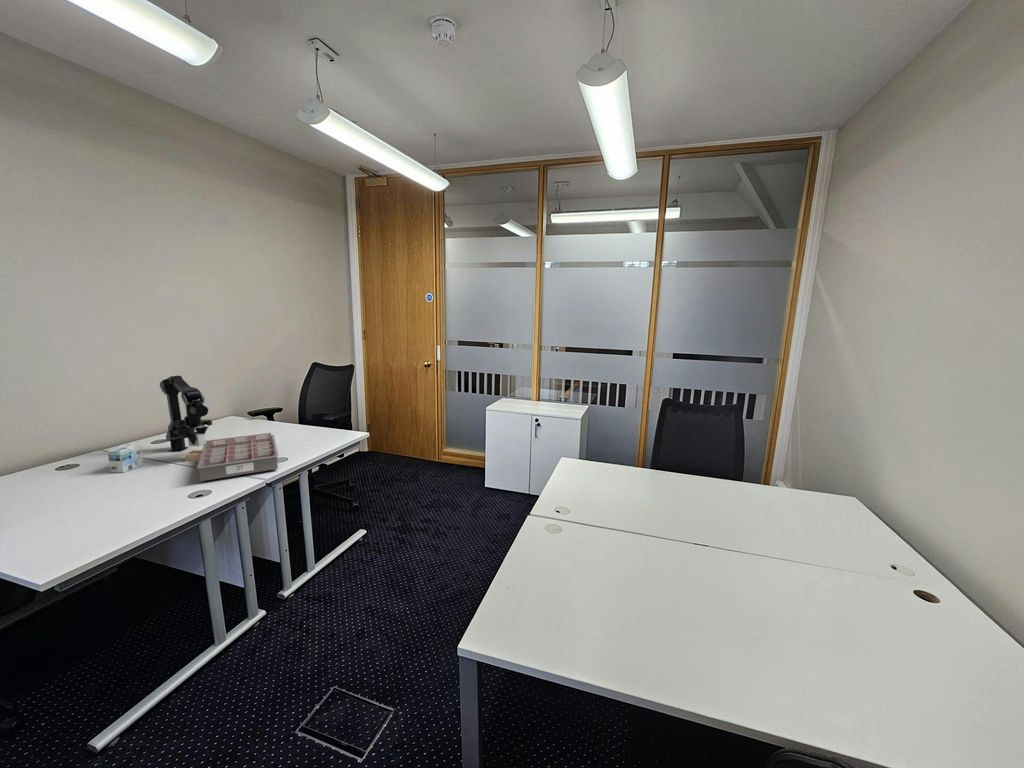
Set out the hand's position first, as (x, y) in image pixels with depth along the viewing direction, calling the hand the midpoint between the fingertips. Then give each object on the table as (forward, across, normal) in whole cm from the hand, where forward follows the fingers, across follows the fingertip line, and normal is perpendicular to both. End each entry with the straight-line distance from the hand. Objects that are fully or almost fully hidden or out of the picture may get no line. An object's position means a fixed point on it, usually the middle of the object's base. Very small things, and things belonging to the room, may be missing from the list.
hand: (196, 442), depth 216 cm
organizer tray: (+9, +9, +26) cm, 29 cm away
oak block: (+9, 0, 0) cm, 9 cm away
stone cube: (+1, 0, 0) cm, 1 cm away
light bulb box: (+9, +13, -25) cm, 30 cm away
